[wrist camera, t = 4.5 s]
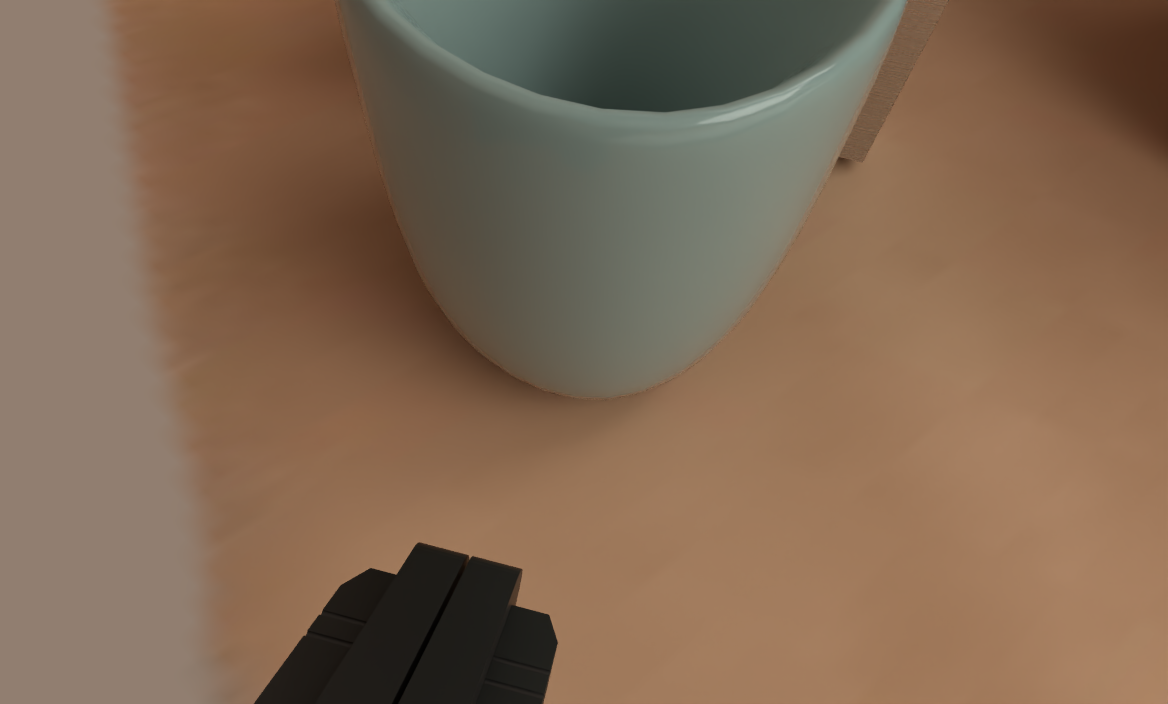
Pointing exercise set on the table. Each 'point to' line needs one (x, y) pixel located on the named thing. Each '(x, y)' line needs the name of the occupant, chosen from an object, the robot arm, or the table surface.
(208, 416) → the table surface
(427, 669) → the robot arm
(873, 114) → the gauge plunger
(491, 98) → the cup
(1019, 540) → the table surface
